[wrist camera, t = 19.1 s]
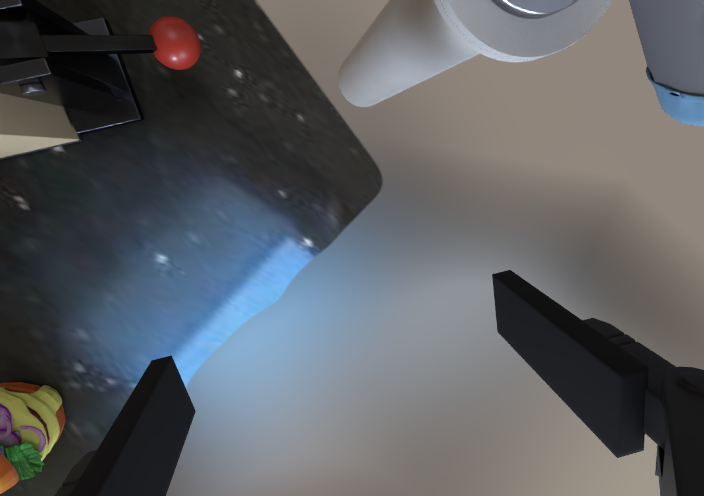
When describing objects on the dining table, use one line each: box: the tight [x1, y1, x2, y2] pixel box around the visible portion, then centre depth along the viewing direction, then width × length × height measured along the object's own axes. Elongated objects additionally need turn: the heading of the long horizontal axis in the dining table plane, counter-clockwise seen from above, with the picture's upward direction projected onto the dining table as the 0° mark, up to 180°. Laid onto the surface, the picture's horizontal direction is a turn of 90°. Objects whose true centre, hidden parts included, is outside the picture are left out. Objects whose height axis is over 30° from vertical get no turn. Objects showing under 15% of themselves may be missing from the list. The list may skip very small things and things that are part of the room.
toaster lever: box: [0, 16, 201, 70], centre depth 29 cm, size 14×4×4 cm
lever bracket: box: [0, 0, 144, 134], centre depth 30 cm, size 6×9×14 cm, turn 13°
